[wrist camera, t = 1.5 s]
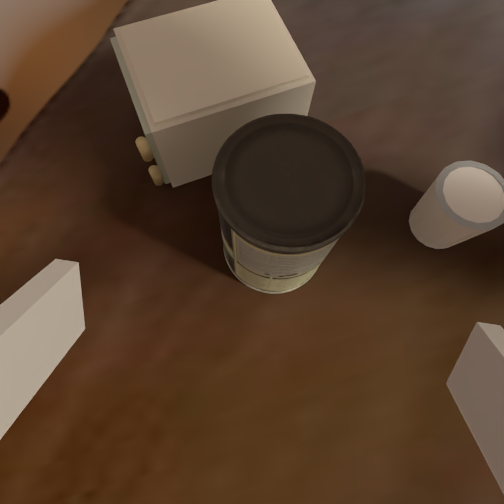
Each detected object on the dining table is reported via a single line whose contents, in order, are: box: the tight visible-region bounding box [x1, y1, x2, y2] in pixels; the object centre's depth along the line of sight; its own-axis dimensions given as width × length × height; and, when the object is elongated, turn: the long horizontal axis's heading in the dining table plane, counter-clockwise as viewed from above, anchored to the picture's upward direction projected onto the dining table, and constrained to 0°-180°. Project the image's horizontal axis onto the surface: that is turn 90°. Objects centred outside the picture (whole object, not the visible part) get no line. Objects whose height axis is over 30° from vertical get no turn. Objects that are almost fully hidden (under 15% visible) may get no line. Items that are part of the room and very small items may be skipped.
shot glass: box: [409, 161, 504, 249], centre depth 36 cm, size 7×7×7 cm
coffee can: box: [212, 114, 366, 294], centre depth 31 cm, size 10×10×14 cm
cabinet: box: [110, 0, 316, 188], centre depth 37 cm, size 12×17×10 cm
